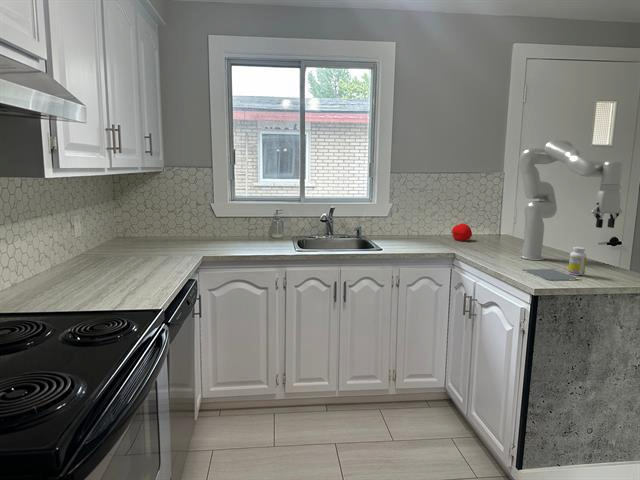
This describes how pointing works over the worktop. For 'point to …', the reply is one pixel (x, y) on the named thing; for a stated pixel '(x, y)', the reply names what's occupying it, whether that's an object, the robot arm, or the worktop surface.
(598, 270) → the worktop surface
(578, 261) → the supplement bottle
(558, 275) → the mat
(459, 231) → the tomato
